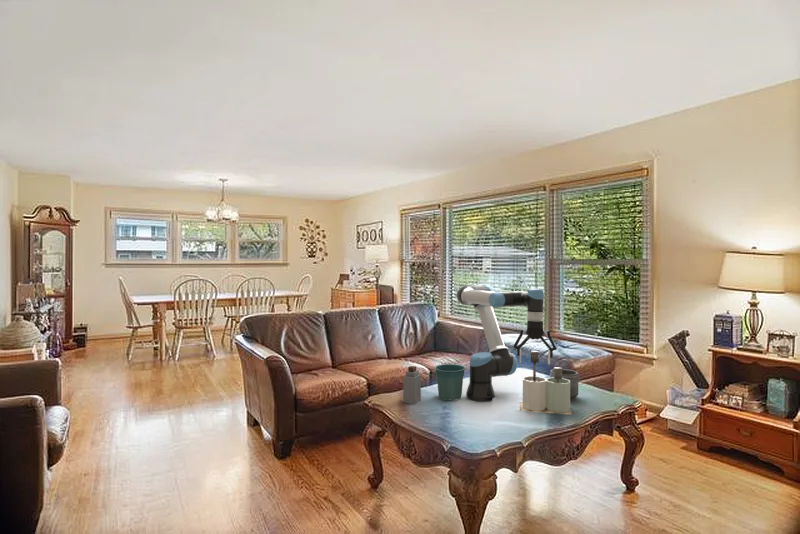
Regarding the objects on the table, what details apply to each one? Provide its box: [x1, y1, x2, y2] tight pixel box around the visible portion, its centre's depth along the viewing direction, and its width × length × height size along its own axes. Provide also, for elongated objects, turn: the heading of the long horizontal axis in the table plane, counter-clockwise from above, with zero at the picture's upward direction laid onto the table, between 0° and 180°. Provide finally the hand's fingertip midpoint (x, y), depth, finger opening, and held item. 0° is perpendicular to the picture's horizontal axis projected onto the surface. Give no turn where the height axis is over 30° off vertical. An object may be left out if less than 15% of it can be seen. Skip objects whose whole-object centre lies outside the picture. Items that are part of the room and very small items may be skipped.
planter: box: [549, 368, 580, 402], centre depth 248 cm, size 14×14×15 cm
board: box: [518, 401, 573, 416], centre depth 231 cm, size 24×14×1 cm, turn 76°
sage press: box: [545, 366, 571, 413], centre depth 231 cm, size 11×14×20 cm
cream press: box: [522, 375, 546, 411], centre depth 233 cm, size 11×14×14 cm
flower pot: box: [434, 363, 466, 401], centre depth 251 cm, size 16×16×16 cm
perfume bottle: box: [402, 365, 422, 405], centre depth 244 cm, size 7×7×18 cm
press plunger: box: [527, 350, 541, 382], centre depth 231 cm, size 8×8×15 cm
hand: (534, 363), depth 231 cm, fingers open, 13 cm apart
